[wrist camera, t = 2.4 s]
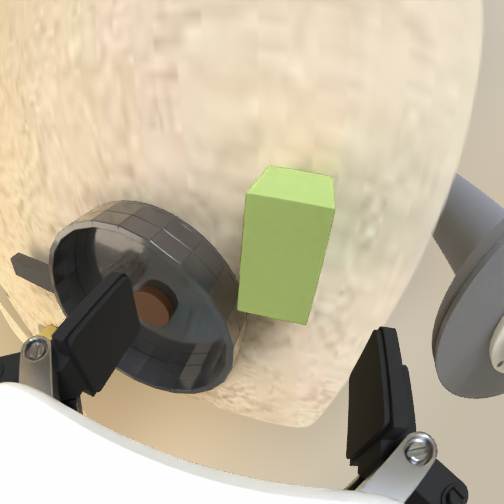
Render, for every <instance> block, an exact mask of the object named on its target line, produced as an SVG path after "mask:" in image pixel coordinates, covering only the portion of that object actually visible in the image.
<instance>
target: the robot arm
mask: <svg viewBox="0 0 504 504" xmlns="http://www.w3.org/2000/svg"><path fill="white" fill-rule="evenodd" d="M139 331H140V322H139V318H138V313H137V309H136V304H135V300H134V295H133V290H132V285H131V280H130V279H129V278H128V276H127V274H126V273H122V272H119V271H115V270H113V271H111V272H110V273H109V274H108V275H107V276H106V277H105V278H104V279H103V280H102V281H101V282H100V283H99V284H98V285H97V286H96V287H95V288H94V289H93V290H92V291H91V292H90V293H89V294H88V296H87V297H86V298H85V299H84V300H83V301H82V302H81V303H80V304H79V305H78V306H77V307H76V308H75V309H74V311H73V312H72V313H71V314H70V315H69V316H68V317H67V318H66V319H65V320H64V322H63V323H62V324H61V325H60V326H59V327H58V328H57V329H56V331H55V332H54V333H53V334H52V335H51V337H52V339H51V340H49V339H48V338H47V337H45V336H42V335H36V336H33V337H31V338H29V339H28V340H27V341H26V342H25V343H24V344H23V346H22V349H21V352H19V353H15V354H11V355H6V356H2V357H0V504H466V503H467V500H468V490H467V487H466V486H465V484H464V483H463V482H462V481H461V480H460V479H458V478H457V477H456V476H455V475H454V474H453V473H452V472H451V471H449V470H448V469H447V468H446V467H445V466H444V465H443V464H442V463H441V462H440V461H438V460H437V459H436V457H437V451H438V450H437V445H436V443H435V441H434V439H433V438H432V437H431V436H430V435H428V434H426V433H424V432H416V423H415V413H414V405H413V397H412V390H411V384H410V378H409V371H408V368H407V366H406V365H402V359H401V353H400V348H399V342H398V337H397V332H396V329H395V328H388V327H379V329H378V330H374V331H373V332H372V334H371V336H370V338H369V340H368V342H367V344H366V346H365V348H364V350H363V352H362V354H361V356H360V358H359V360H358V361H357V363H356V365H355V367H354V369H353V371H352V372H351V375H350V378H349V410H348V435H347V451H346V457H347V459H350V466H358V474H359V475H358V476H357V477H356V478H355V479H354V480H353V481H352V482H351V483H350V484H349V485H348V486H347V487H346V488H345V489H343V490H339V489H328V488H316V487H307V486H298V485H292V484H285V483H278V482H272V481H266V480H261V479H256V478H251V477H245V476H241V475H237V474H233V473H229V472H225V471H221V470H217V469H213V468H210V467H206V466H203V465H200V464H196V463H193V462H190V461H187V460H184V459H181V458H178V457H175V456H172V455H169V454H167V453H164V452H161V451H159V450H156V449H154V448H151V447H149V446H146V445H144V444H141V443H139V442H136V441H134V440H132V439H130V438H128V437H125V436H123V435H121V434H119V433H117V432H115V431H112V430H111V429H109V428H106V427H105V426H102V425H101V424H98V423H97V422H95V421H93V420H91V419H89V418H87V417H86V416H84V415H83V411H82V405H81V399H80V395H81V393H82V392H85V393H87V394H89V395H91V396H93V397H94V395H95V394H96V392H100V391H101V390H102V388H103V387H104V385H105V383H106V382H107V380H108V379H109V377H110V376H111V374H112V373H113V371H114V370H115V368H116V367H117V365H118V363H119V362H120V360H121V359H122V357H123V356H124V354H125V353H126V351H127V350H128V348H129V347H130V345H131V344H132V342H133V341H134V340H135V338H136V337H137V335H138V334H139ZM489 356H490V359H491V362H492V365H493V367H494V368H495V369H496V370H497V371H499V372H501V373H504V315H503V317H502V318H501V320H500V321H499V323H498V325H497V327H496V329H495V331H494V333H493V336H492V339H491V342H490V347H489Z"/></svg>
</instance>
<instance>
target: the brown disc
mask: <svg viewBox="0 0 504 504" xmlns="http://www.w3.org/2000/svg"><path fill="white" fill-rule="evenodd" d="M133 295H134V300H135V304H136V309H137V313H138V316H139V317H140V318H141V319H142V320H144V321H145V322H147V323H149V324H151V325H154V326H164V325H166V324H167V323H168V322H169V320H170V319H171V317H172V315H173V312H174V309H173V305H172V303H171V301H170V299H169V298H168V297H167V296H166V295H165V294H164V293H163V292H162V291H161V290H159V289H157V288H155V287H152V286H142V287H140V288H139V289H138V290H137V291H136V292H135V293H134V294H133Z"/></svg>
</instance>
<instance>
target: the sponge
mask: <svg viewBox="0 0 504 504" xmlns="http://www.w3.org/2000/svg"><path fill="white" fill-rule="evenodd" d="M334 213H335V196H334V181H333V177H331V176H326V175H321V174H315V173H310V172H304V171H299V170H293V169H287V168H281V167H274V166H269V167H268V168H267V169H266V170H265V171H264V172H263V174H262V175H261V176H260V177H259V178H258V179H257V181H256V182H255V183H254V184H253V185H252V186H251V188H250V189H249V190H248V191H247V192H246V200H245V212H244V225H243V238H242V251H241V264H240V277H239V291H238V305H237V310H239V311H243V312H247V313H251V314H256V315H260V316H265V317H269V318H274V319H279V320H283V321H288V322H293V323H298V324H303V325H306V324H307V320H308V317H309V313H310V310H311V306H312V302H313V299H314V295H315V291H316V288H317V284H318V280H319V276H320V272H321V268H322V265H323V260H324V256H325V252H326V248H327V244H328V240H329V235H330V231H331V227H332V222H333V218H334Z"/></svg>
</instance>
